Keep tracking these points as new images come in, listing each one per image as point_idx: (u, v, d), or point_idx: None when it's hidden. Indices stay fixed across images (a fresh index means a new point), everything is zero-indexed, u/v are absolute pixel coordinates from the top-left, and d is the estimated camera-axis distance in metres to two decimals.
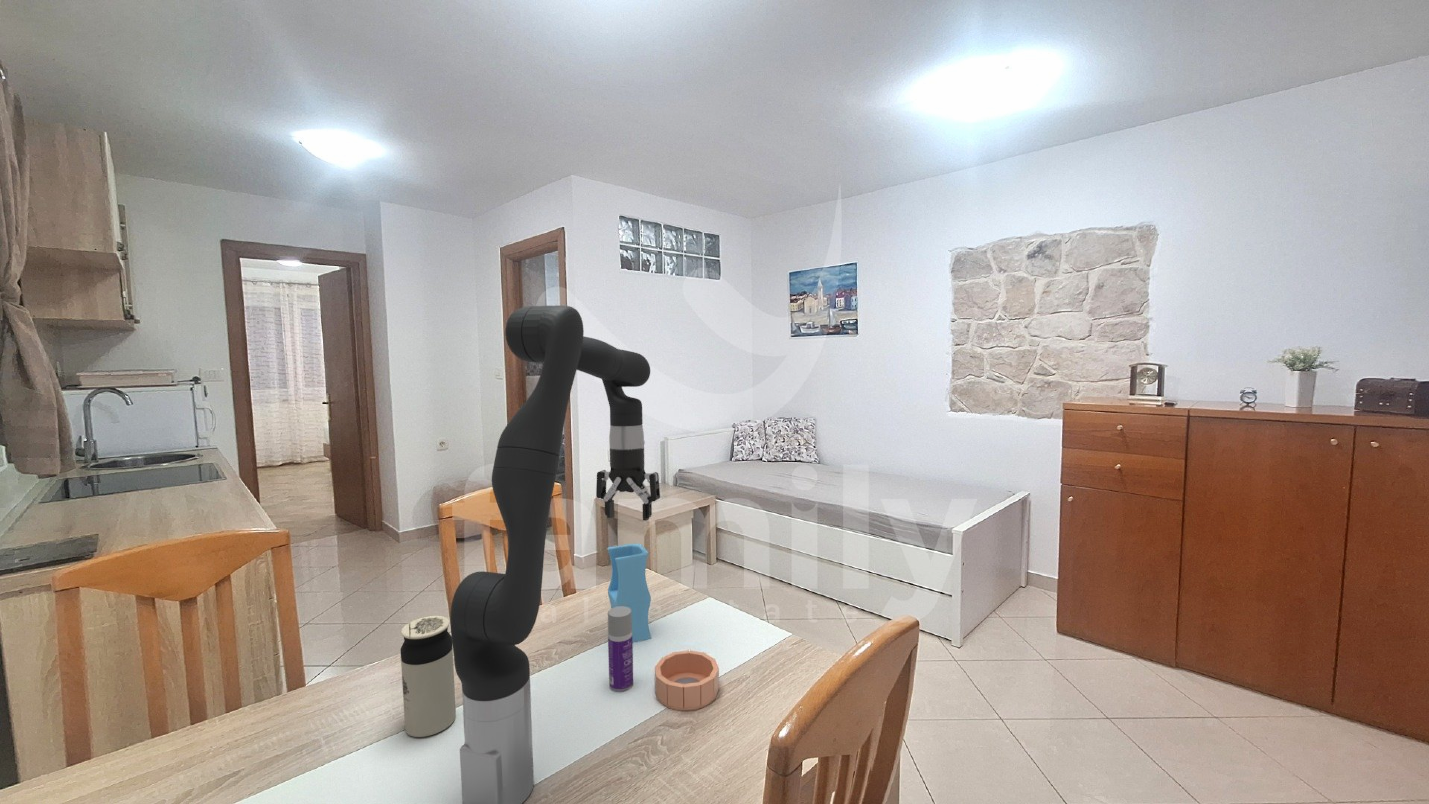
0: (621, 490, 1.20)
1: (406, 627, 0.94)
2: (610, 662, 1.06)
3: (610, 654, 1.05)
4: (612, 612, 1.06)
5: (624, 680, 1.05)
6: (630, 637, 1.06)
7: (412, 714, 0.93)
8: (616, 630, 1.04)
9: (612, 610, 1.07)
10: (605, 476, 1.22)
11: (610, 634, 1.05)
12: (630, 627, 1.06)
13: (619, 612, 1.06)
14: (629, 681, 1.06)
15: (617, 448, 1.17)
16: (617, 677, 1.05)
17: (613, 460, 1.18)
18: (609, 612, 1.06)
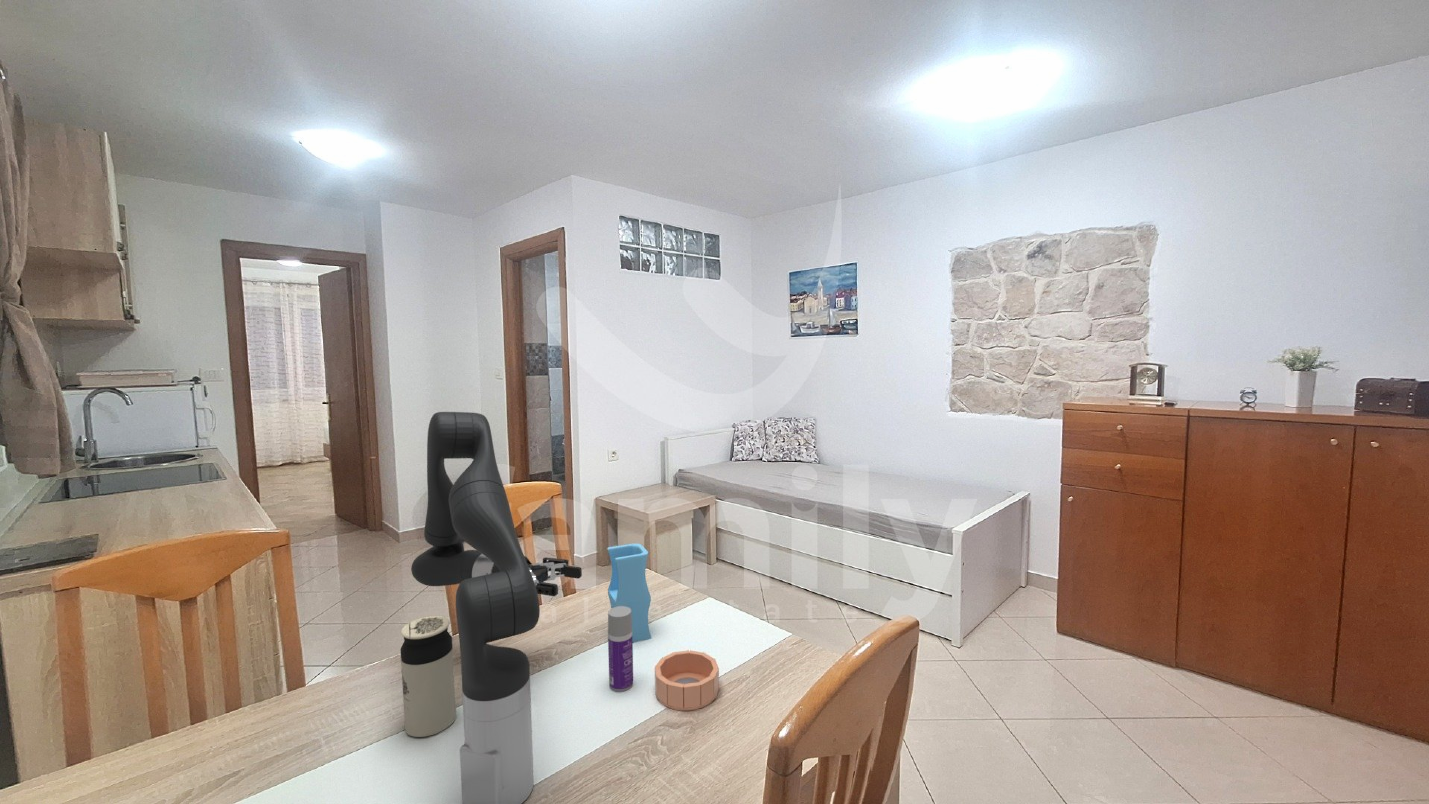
0: (538, 574, 1.10)
1: (406, 627, 0.94)
2: (610, 662, 1.06)
3: (610, 654, 1.05)
4: (612, 612, 1.06)
5: (624, 680, 1.05)
6: (630, 637, 1.06)
7: (412, 714, 0.93)
8: (616, 630, 1.04)
9: (612, 610, 1.07)
10: None
11: (610, 634, 1.05)
12: (630, 627, 1.06)
13: (619, 612, 1.06)
14: (629, 681, 1.06)
15: None
16: (617, 677, 1.05)
17: None
18: (609, 612, 1.06)
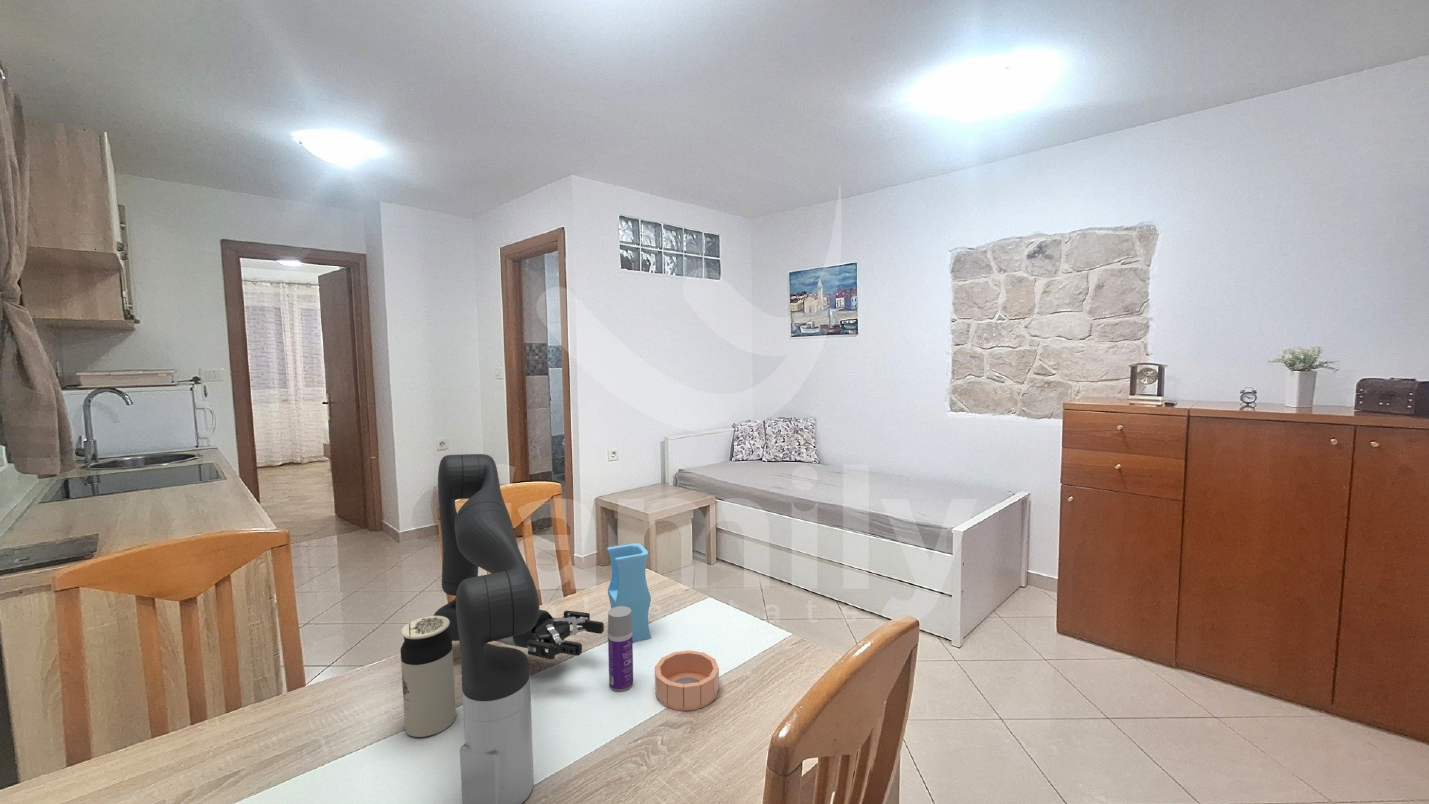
0: (561, 631, 1.10)
1: (406, 627, 0.94)
2: (610, 662, 1.06)
3: (610, 654, 1.05)
4: (612, 612, 1.06)
5: (624, 680, 1.05)
6: (630, 637, 1.06)
7: (412, 714, 0.93)
8: (616, 630, 1.04)
9: (612, 610, 1.07)
10: None
11: (610, 634, 1.05)
12: (630, 627, 1.06)
13: (619, 612, 1.06)
14: (629, 681, 1.06)
15: None
16: (617, 677, 1.05)
17: None
18: (609, 612, 1.06)
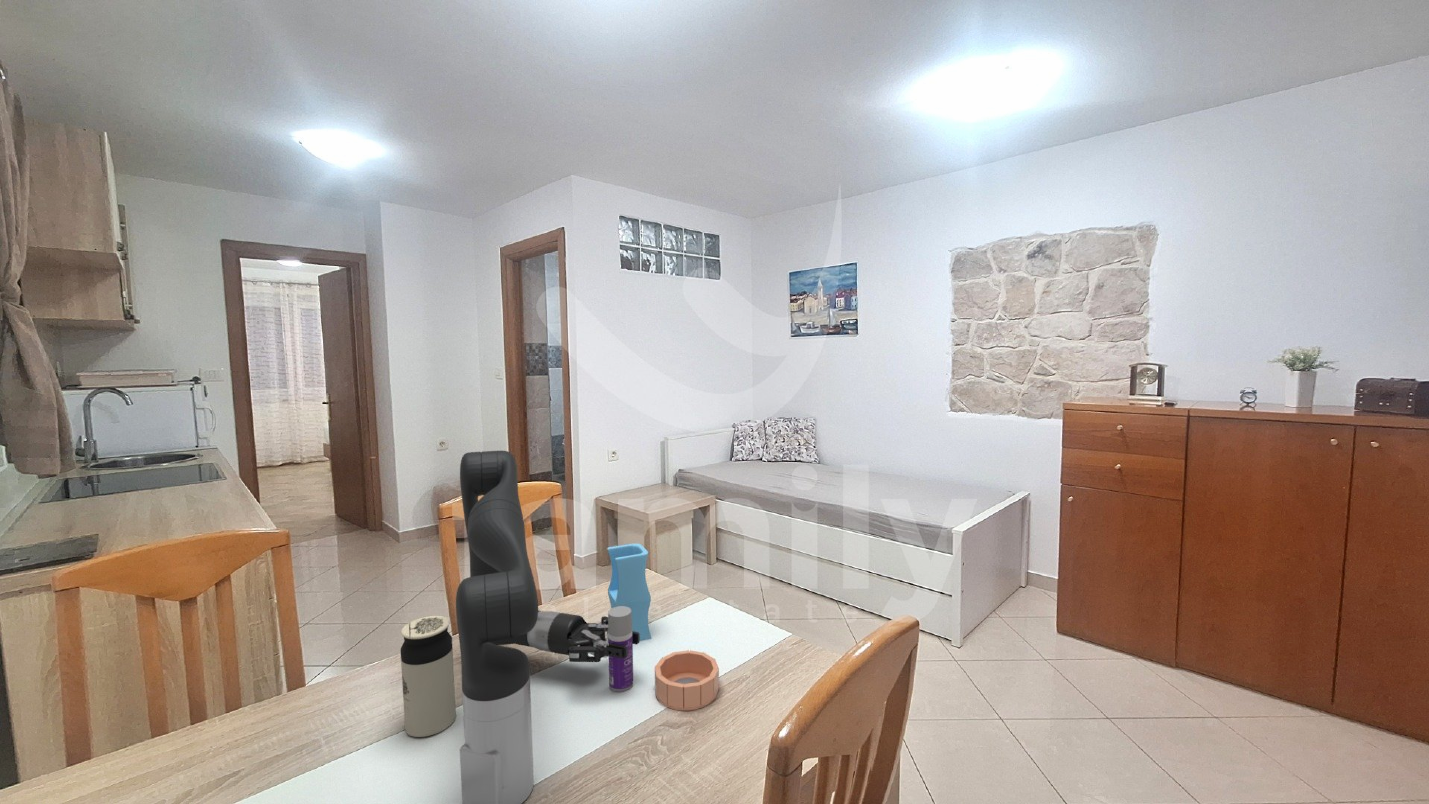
0: None
1: (406, 627, 0.94)
2: (610, 662, 1.06)
3: None
4: (612, 612, 1.06)
5: (624, 680, 1.05)
6: (630, 637, 1.06)
7: (412, 714, 0.93)
8: (616, 630, 1.04)
9: (612, 610, 1.07)
10: None
11: (610, 634, 1.05)
12: (630, 627, 1.06)
13: (619, 612, 1.06)
14: (629, 681, 1.06)
15: (555, 615, 1.10)
16: (617, 677, 1.05)
17: (563, 622, 1.08)
18: (609, 612, 1.06)
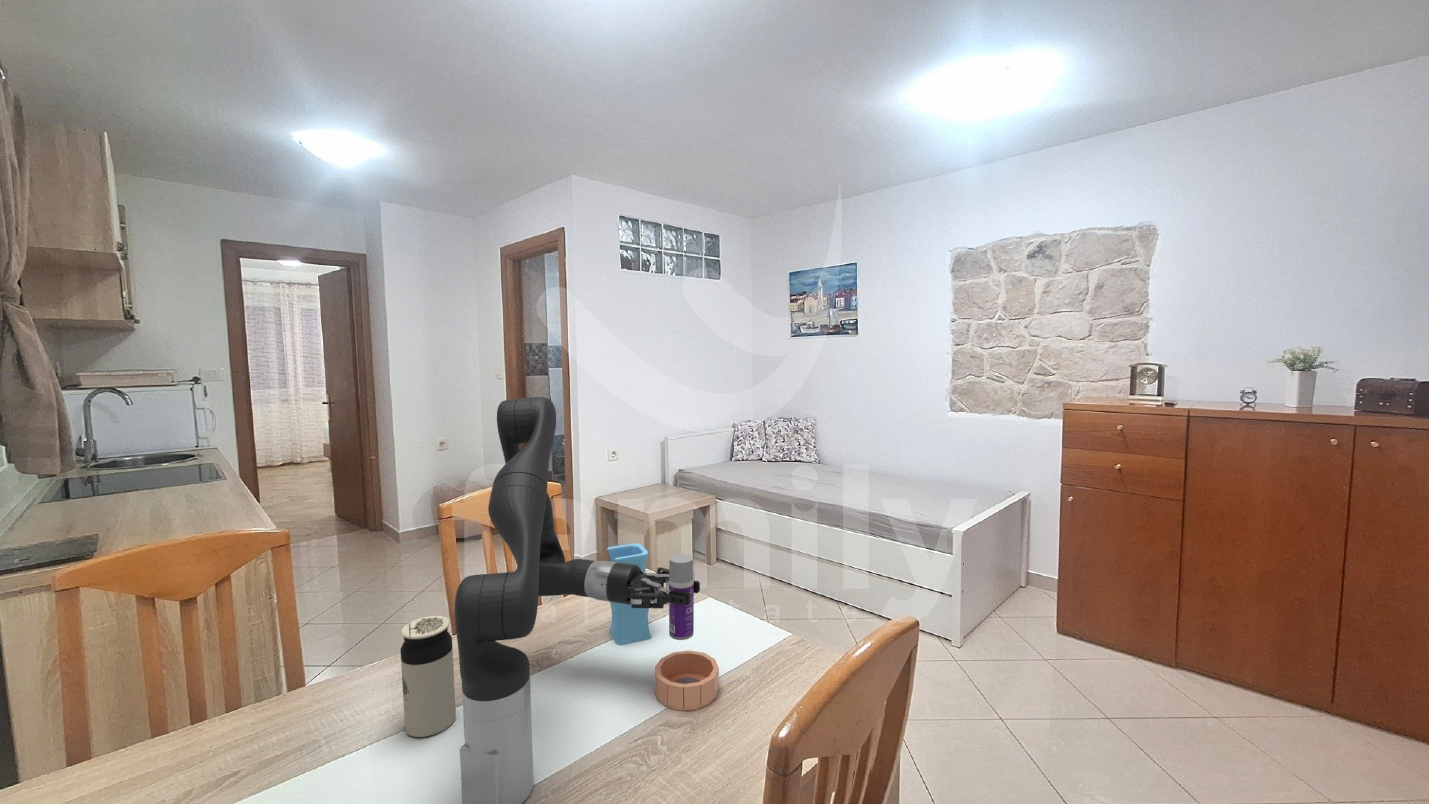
0: None
1: (406, 627, 0.94)
2: (671, 610, 1.03)
3: None
4: (674, 559, 1.03)
5: (686, 628, 1.03)
6: (692, 584, 1.03)
7: (412, 714, 0.93)
8: (678, 577, 1.02)
9: (673, 557, 1.04)
10: None
11: (673, 580, 1.02)
12: (692, 574, 1.03)
13: (681, 559, 1.03)
14: (690, 630, 1.04)
15: (612, 564, 1.08)
16: (679, 625, 1.03)
17: (622, 570, 1.06)
18: (671, 559, 1.03)
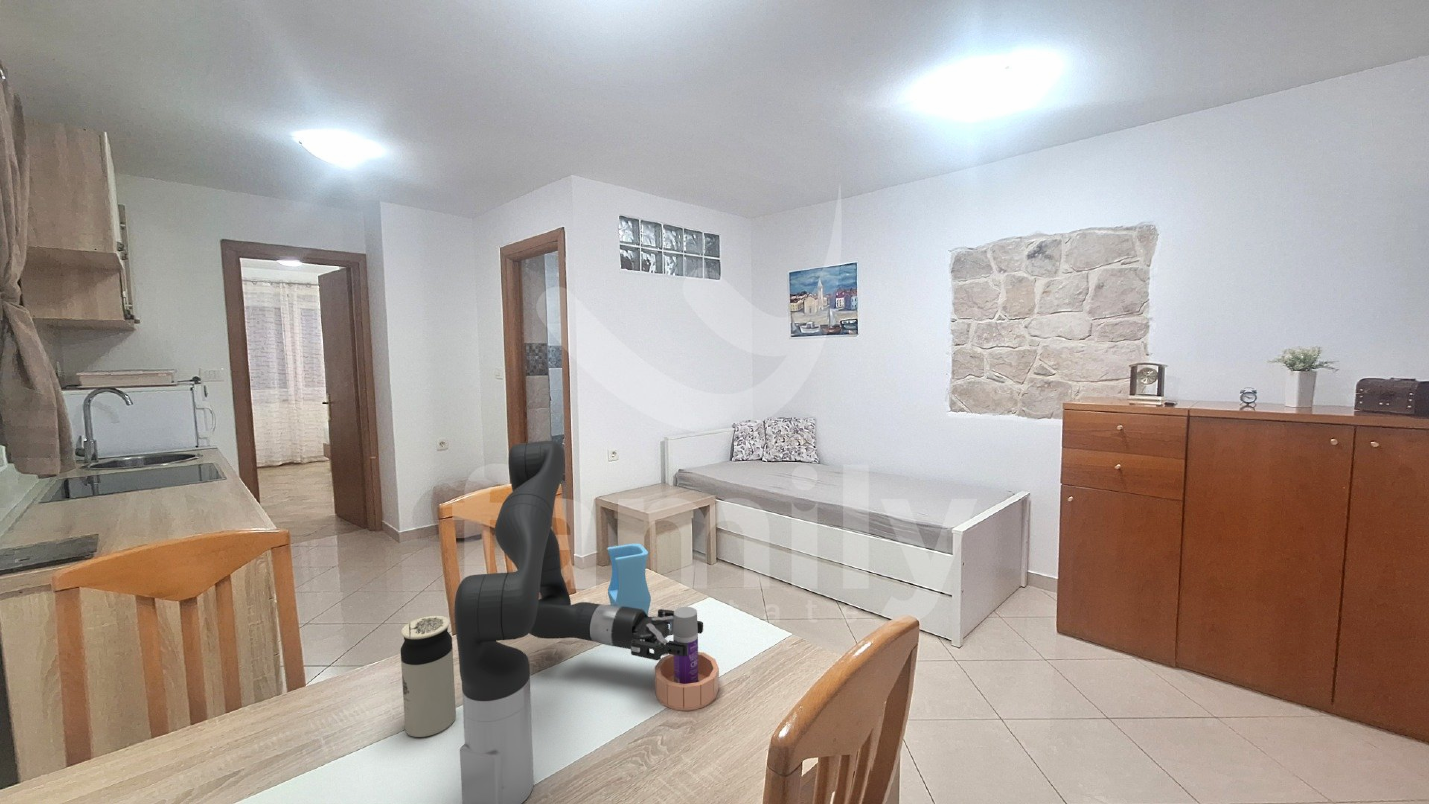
0: (662, 630, 1.05)
1: (406, 627, 0.94)
2: (676, 664, 1.04)
3: (676, 656, 1.03)
4: (678, 613, 1.04)
5: (691, 682, 1.03)
6: (696, 638, 1.04)
7: (412, 714, 0.93)
8: (682, 631, 1.02)
9: (677, 611, 1.05)
10: None
11: (677, 635, 1.03)
12: (696, 628, 1.04)
13: (685, 613, 1.04)
14: None
15: (617, 609, 1.08)
16: (684, 679, 1.03)
17: (627, 616, 1.06)
18: (675, 613, 1.04)
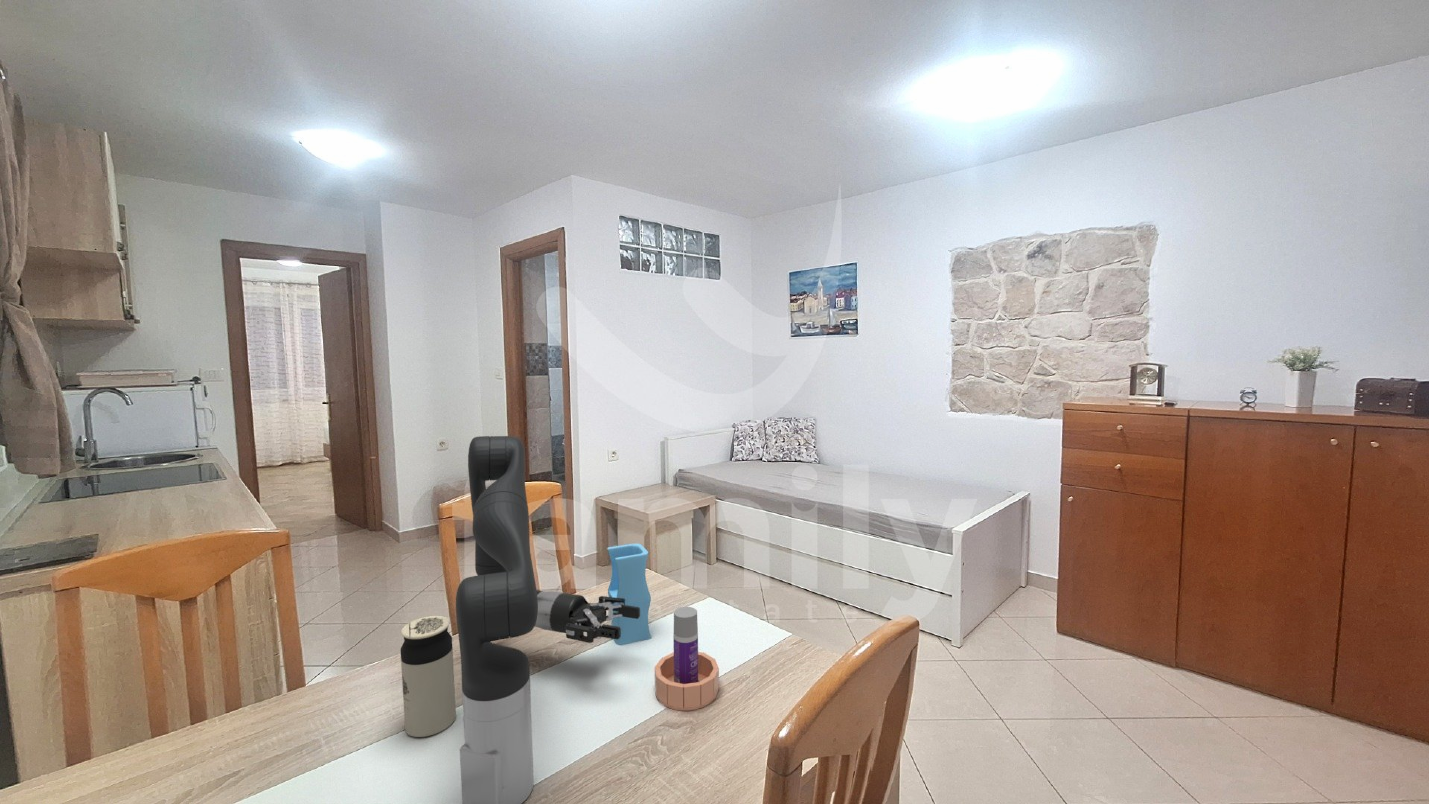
0: (598, 615, 1.09)
1: (406, 627, 0.94)
2: (676, 664, 1.04)
3: (676, 656, 1.03)
4: (678, 613, 1.04)
5: (691, 682, 1.03)
6: (696, 638, 1.04)
7: (412, 714, 0.93)
8: (683, 631, 1.02)
9: (677, 610, 1.05)
10: None
11: (677, 635, 1.03)
12: (696, 628, 1.04)
13: (685, 613, 1.04)
14: None
15: (557, 595, 1.12)
16: (684, 679, 1.03)
17: (565, 601, 1.10)
18: (675, 613, 1.04)
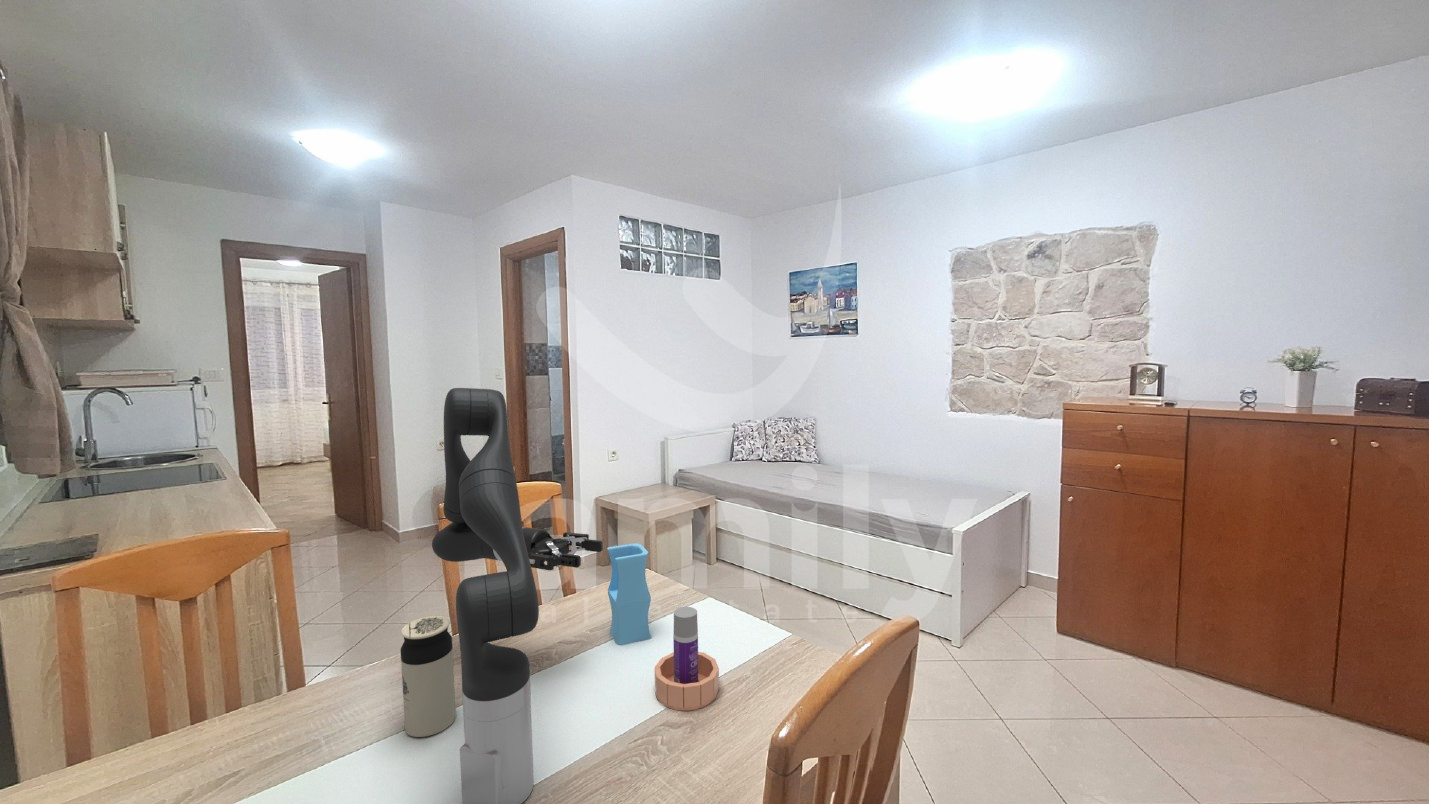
0: (560, 547, 1.10)
1: (406, 627, 0.94)
2: (676, 664, 1.04)
3: (676, 656, 1.03)
4: (678, 613, 1.04)
5: (691, 682, 1.03)
6: (696, 638, 1.04)
7: (412, 714, 0.93)
8: (682, 631, 1.02)
9: (677, 610, 1.05)
10: None
11: (677, 635, 1.03)
12: (696, 628, 1.04)
13: (685, 613, 1.04)
14: None
15: None
16: (684, 679, 1.03)
17: (528, 533, 1.11)
18: (675, 613, 1.04)
